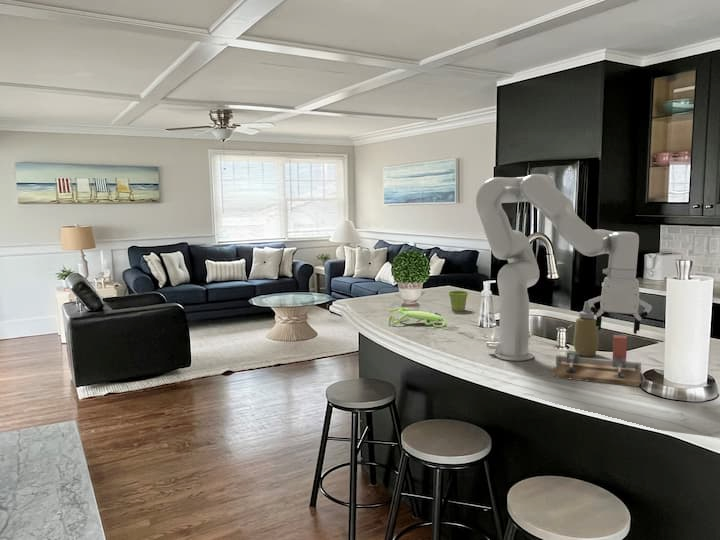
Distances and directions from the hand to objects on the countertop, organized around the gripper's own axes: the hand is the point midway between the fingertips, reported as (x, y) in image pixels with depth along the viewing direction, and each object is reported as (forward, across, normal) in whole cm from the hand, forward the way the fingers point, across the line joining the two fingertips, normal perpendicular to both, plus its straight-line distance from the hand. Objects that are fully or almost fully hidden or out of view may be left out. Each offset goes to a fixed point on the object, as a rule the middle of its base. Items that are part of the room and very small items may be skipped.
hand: (617, 330), depth 166 cm
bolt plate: (+13, -5, -4) cm, 14 cm away
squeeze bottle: (+14, -8, +18) cm, 24 cm away
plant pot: (+17, -68, +79) cm, 105 cm away
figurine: (+17, -78, +47) cm, 93 cm away
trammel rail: (+12, -5, -3) cm, 13 cm away
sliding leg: (+11, +1, -3) cm, 12 cm away
